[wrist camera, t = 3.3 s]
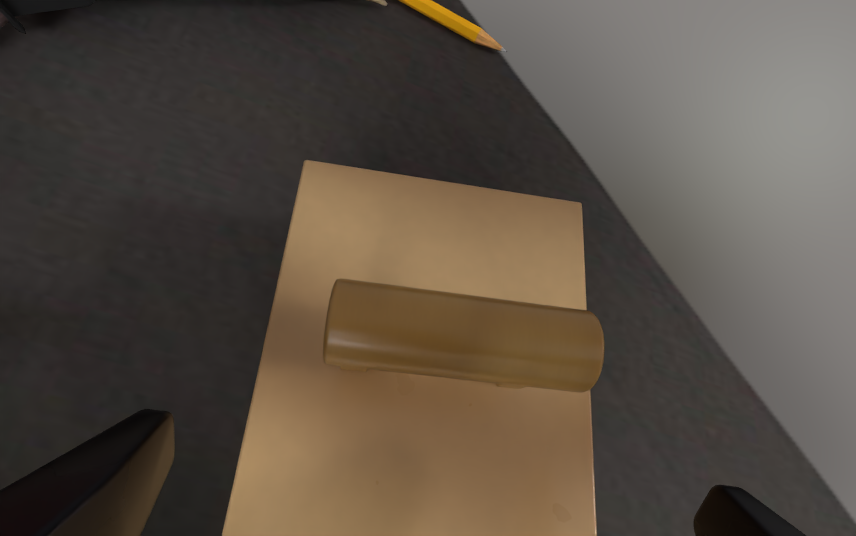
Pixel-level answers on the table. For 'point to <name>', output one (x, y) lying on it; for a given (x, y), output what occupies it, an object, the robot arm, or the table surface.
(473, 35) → the pencil
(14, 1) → the kunai knife
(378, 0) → the sculpture
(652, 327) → the table surface
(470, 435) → the lid
